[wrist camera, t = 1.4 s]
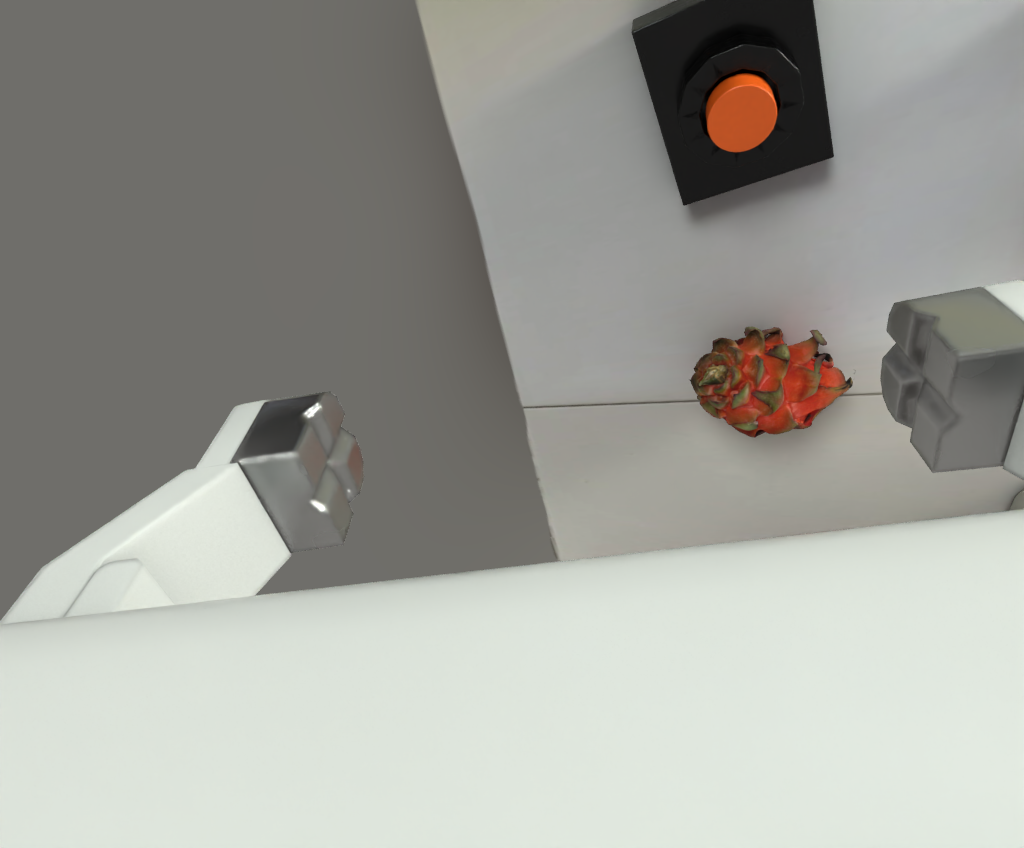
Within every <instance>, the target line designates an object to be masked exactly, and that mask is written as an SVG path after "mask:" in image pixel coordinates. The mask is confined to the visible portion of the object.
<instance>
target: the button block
mask: <svg viewBox="0 0 1024 848" xmlns="http://www.w3.org/2000/svg"><path fill="white" fill-rule="evenodd" d="M632 35H633V39H634V42H635V45H636V49H637V52H638V55H639V59H640V62H641V65H642V69H643V72H644V75H645V79H646V82H647V85H648V89H649V92H650V95H651V99H652V102H653V105H654V109H655V112H656V115H657V119H658V122H659V125H660V129H661V132H662V136H663V139H664V142H665V146H666V149H667V152H668V156H669V159H670V162H671V166H672V169H673V172H674V176H675V179H676V182H677V186H678V189H679V192H680V196H681V199H682V202H683V205H687V204H690V203H693V202H696V201H700V200H703V199H706V198H709V197H712V196H715V195H718V194H721V193H724V192H727V191H730V190H734V189H737V188H740V187H743V186H746V185H749V184H752V183H755V182H758V181H761V180H764V179H767V178H771V177H774V176H777V175H780V174H783V173H786V172H789V171H792V170H795V169H798V168H801V167H804V166H808V165H811V164H814V163H817V162H820V161H823V160H826V159H829V158H832V157H834V154H833V146H832V139H831V131H830V124H829V116H828V109H827V101H826V94H825V86H824V79H823V71H822V64H821V56H820V49H819V41H818V34H817V26H816V19H815V11H814V4H813V0H677V1H674V2H672V3H670V4H668V5H665V6H663V7H661V8H659V9H656V10H654V11H652V12H650V13H648V14H645V15H643V16H641V17H639V18H636V19H634V20H633V25H632ZM742 73H749V74H754V75H757V76H759V77H761V78H763V79H764V80H765V81H766V82H767V83H768V84H769V86H770V87H771V90H772V93H773V96H774V99H775V102H776V106H777V119H776V123H775V125H774V128H773V130H772V131H771V133H770V134H769V136H768V137H767V138H766V139H765V140H764V141H763V142H762V143H761V144H759V145H758V146H756V147H754V148H752V149H750V150H747V151H743V152H729V151H726V150H723V149H721V148H719V147H718V146H717V145H716V144H715V143H714V142H713V141H712V140H711V138H710V136H709V133H708V129H707V121H706V105H707V102H708V99H709V97H710V95H711V93H712V92H713V90H714V89H715V88H716V87H717V86H718V85H719V84H720V83H721V82H722V81H724V80H725V79H727V78H729V77H731V76H733V75H737V74H742Z"/></svg>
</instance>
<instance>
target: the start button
mask: <svg viewBox="0 0 1024 848" xmlns="http://www.w3.org/2000/svg"><path fill="white" fill-rule="evenodd" d="M776 119H777V106H776V102H775V99H774V96H773V93H772V90H771V87H770V86H769V84H768V83H767V82H766V81H765V80H764V79H763V78H761V77H759V76H757V75H754V74H749V73H742V74H737V75H733V76H731V77H729V78H727V79H725V80H724V81H722V82H721V83H720V84H719V85H718V86H717V87H716V88H715V89H714V90H713V92H712V93H711V95H710V97H709V99H708V102H707V105H706V121H707V129H708V133H709V136H710V138H711V140H712V141H713V142H714V143H715V144H716V145H717V146H718V147H719V148H721V149H723V150H726V151H729V152H743V151H747V150H750V149H752V148H754V147H756V146H758V145H759V144H761V143H762V142H763V141H764V140H765V139H766V138H767V137H768V136H769V134H770V133H771V131H772V130H773V128H774V125H775V123H776Z"/></svg>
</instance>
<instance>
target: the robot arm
mask: <svg viewBox="0 0 1024 848" xmlns="http://www.w3.org/2000/svg"><path fill="white" fill-rule="evenodd" d="M887 332H888V333H889V334H890V336H891V337H892V338H893V339H894V341H895V342H896V344H895V345H894V346H893V347H892V348H891V349H890V350H889V352H888V353H887V354H886V355H885V356H884V357H883V359H882V369H881V378H880V379H881V386H882V393H883V398H884V401H885V403H886V406H887V408H888V410H889V412H890V413H891V415H892V416H893V418H894V419H895V421H897V422H899V423H901V424H903V425H906V426H908V427H910V428H912V433H911V438H910V442H911V443H912V445H913V446H914V448H915V449H916V450H917V452H918V453H919V454H920V456H921V457H922V459H923V460H924V461H925V463H926V464H927V466H928V467H929V468H930V470H931V471H932V473H935V472H946V471H956V470H966V469H976V468H986V467H996V466H1003V469H1004V470H1006V471H1008V472H1010V473H1012V474H1013V475H1015V476H1017V477H1019V478H1021V479H1023V480H1024V281H1018V280H1013V281H1008V282H1003V283H998V284H993V285H988V286H983V287H977V288H972V289H966V290H961V291H955V292H950V293H944V294H939V295H933V296H928V297H922V298H917V299H911V300H906V301H901V302H897V303H894V305H893V307H892V309H891V311H890V314H889V318H888V324H887ZM344 415H345V413H344V411H343V408H342V406H341V404H340V402H339V400H338V398H337V396H335V395H333V394H332V393H331V392H322V393H315V394H309V395H301V396H293V397H287V398H280V399H272V400H263V401H257V402H252V403H246V404H242V405H239V406H236V407H234V409H233V410H232V412H231V413H230V415H229V417H228V418H227V420H226V421H225V423H224V424H223V426H222V427H221V429H220V431H219V432H218V434H217V435H216V437H215V438H214V440H213V442H212V443H211V445H210V446H209V448H208V449H207V451H206V452H205V454H204V456H203V457H202V459H201V461H200V462H199V464H198V465H197V467H196V468H195V469H190V470H185V471H184V472H182V473H181V474H179V475H178V476H176V477H175V478H174V479H172V480H171V481H169V482H168V483H166V484H165V485H163V486H162V487H160V488H159V489H157V490H156V491H154V492H153V493H151V494H150V495H148V496H147V497H146V498H144V499H142V500H141V501H140V502H138V503H137V504H135V505H134V506H132V507H131V508H129V509H128V510H126V511H125V512H123V513H122V514H120V515H119V516H117V517H116V518H114V519H113V520H112V521H110V522H109V523H107V524H106V525H104V526H103V527H101V528H100V529H98V530H97V531H95V532H94V533H92V534H91V535H90V536H88V537H86V538H85V539H83V540H82V541H80V542H79V543H78V544H76V545H75V546H73V547H72V548H70V549H69V550H67V551H66V552H64V553H63V554H61V555H60V556H58V557H57V558H55V559H54V560H52V561H51V562H50V563H48V564H47V565H45V566H44V567H42V568H41V569H40V571H39V572H38V573H37V574H36V576H35V577H34V578H33V580H32V581H31V582H30V584H29V585H28V586H27V587H26V589H25V590H24V591H23V593H22V594H21V595H20V596H19V598H18V599H17V601H16V602H15V603H14V604H13V606H12V607H11V608H10V610H9V611H8V612H7V613H6V615H5V616H4V617H3V619H2V620H1V621H0V848H1024V509H1020V510H1011V511H1002V512H993V513H984V514H975V515H967V516H958V517H949V518H940V519H931V520H922V521H914V522H905V523H896V524H887V525H878V526H869V527H860V528H852V529H843V530H834V531H825V532H816V533H807V534H799V535H790V536H781V537H772V538H763V539H754V540H746V541H737V542H728V543H719V544H710V545H701V546H692V547H683V548H675V549H666V550H657V551H648V552H639V553H630V554H621V555H612V556H604V557H595V558H586V559H577V560H568V561H559V562H550V563H541V564H533V565H524V566H515V567H506V568H497V569H488V570H479V571H471V572H462V573H453V574H444V575H436V576H426V577H418V578H408V579H399V580H391V581H382V582H373V583H364V584H356V585H346V586H337V587H328V588H320V589H311V590H302V591H293V592H284V593H275V594H267V595H257V596H255V595H256V593H257V592H258V591H259V590H260V589H261V588H262V587H263V586H264V585H265V584H266V583H267V582H268V581H269V579H270V578H271V577H272V576H273V575H274V574H275V573H276V572H277V571H278V570H279V568H280V567H281V566H282V565H283V564H284V563H285V562H286V561H287V560H288V558H290V556H291V553H293V552H299V551H306V550H312V549H319V548H326V547H332V546H339V545H343V544H344V541H345V538H346V535H347V532H348V529H349V526H350V522H351V519H352V516H353V512H352V509H351V507H350V505H349V502H351V501H352V500H353V499H354V498H355V497H356V496H357V495H358V494H359V493H360V491H361V487H362V483H363V476H364V474H363V473H364V471H363V458H362V454H361V450H360V447H359V445H358V442H357V440H356V438H355V436H354V435H352V434H351V433H349V432H348V431H346V430H345V429H344V428H342V427H341V424H342V421H343V418H344Z"/></svg>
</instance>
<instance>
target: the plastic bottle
mask: <svg viewBox="0 0 1024 848" xmlns="http://www.w3.org/2000/svg"><path fill="white" fill-rule="evenodd" d="M1020 509H1024V490H1023V491H1022V492H1020V493H1019V494H1018V495H1017V496H1016V497H1015V499H1014V501H1013V503H1012V505H1011V508H1010V511H1011V510H1020Z"/></svg>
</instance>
